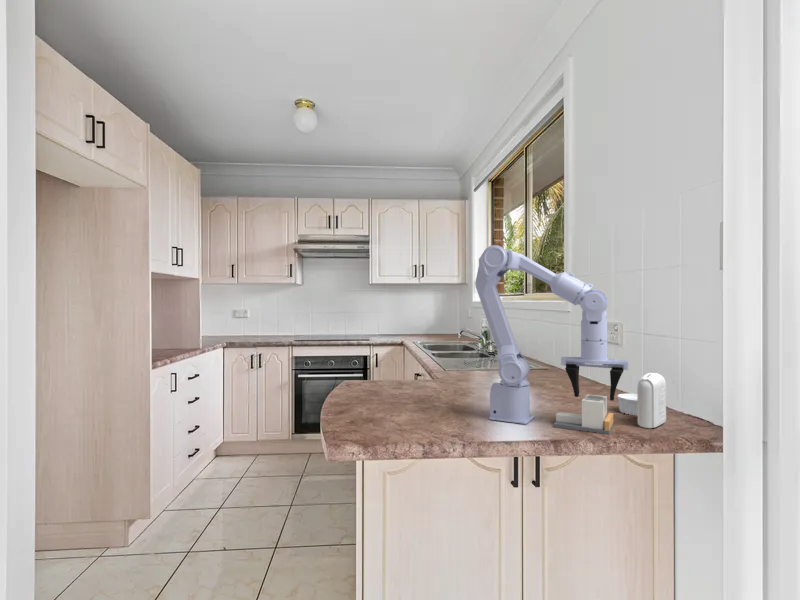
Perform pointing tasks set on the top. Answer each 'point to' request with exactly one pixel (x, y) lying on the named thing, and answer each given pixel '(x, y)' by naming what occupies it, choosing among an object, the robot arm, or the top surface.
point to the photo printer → (651, 400)
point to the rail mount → (575, 422)
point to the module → (594, 411)
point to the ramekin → (628, 403)
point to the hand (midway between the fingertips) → (594, 397)
